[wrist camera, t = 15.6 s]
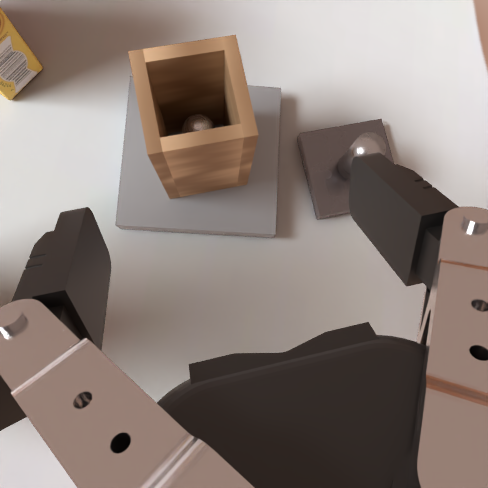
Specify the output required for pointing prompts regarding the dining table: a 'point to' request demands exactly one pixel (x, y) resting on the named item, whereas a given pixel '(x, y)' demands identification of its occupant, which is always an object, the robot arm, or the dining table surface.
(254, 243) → the dining table surface
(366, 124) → the grey-brown square knobbed lid
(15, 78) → the candy box
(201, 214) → the hub plate
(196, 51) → the oak collar
